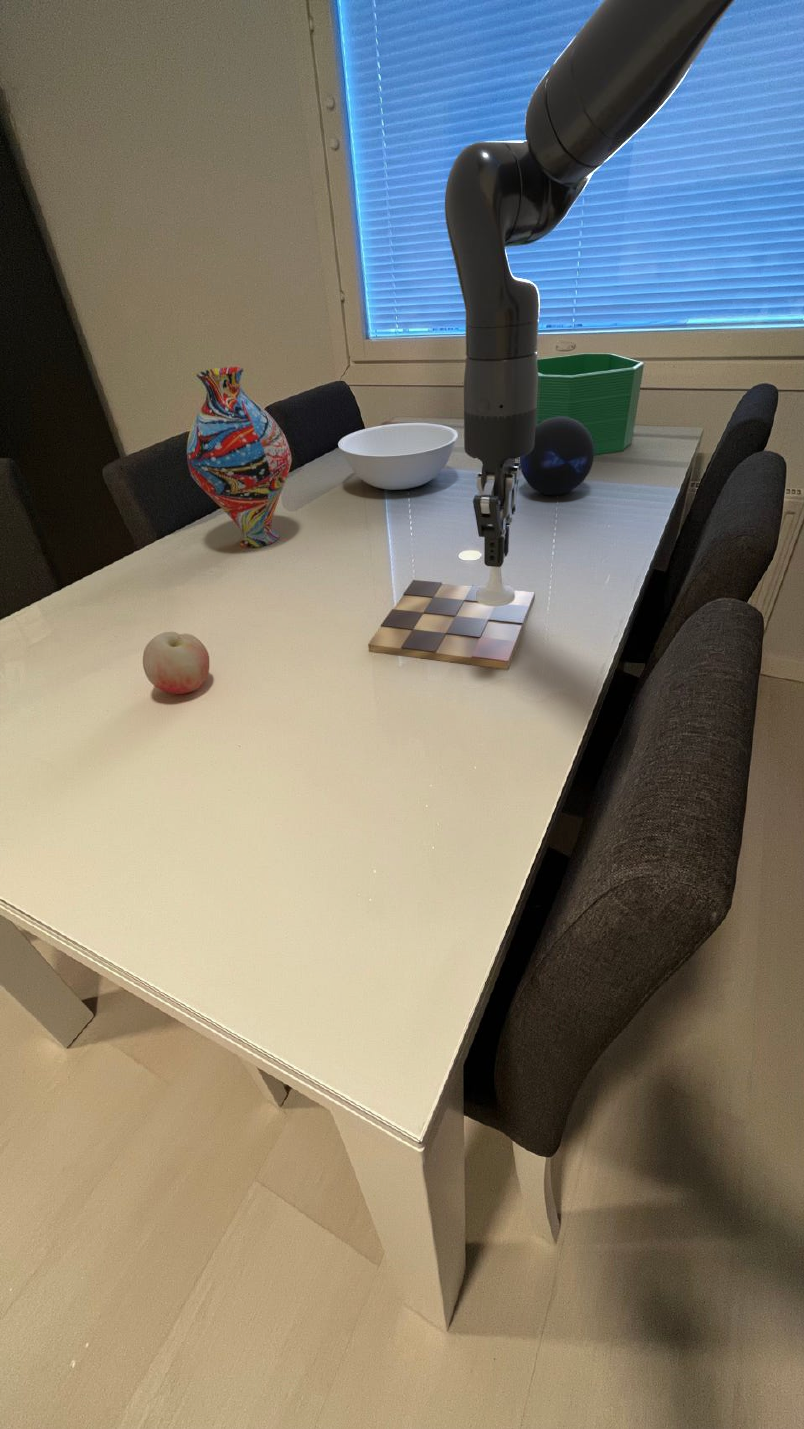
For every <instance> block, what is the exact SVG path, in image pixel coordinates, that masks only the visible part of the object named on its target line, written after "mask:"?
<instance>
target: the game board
mask: <svg viewBox="0 0 804 1429" xmlns="http://www.w3.org/2000/svg"><path fill="white" fill-rule="evenodd" d="M482 586H483V585H474V584H473V585H460V584H450V583H449V584H448V583H443V582H442V581H441V582H439V581H430V580H420V579H412V581H411V582H410V583H409V585H408V586H407V588H406V589H405V590H404V592H403V593H402V597H400V599H399V600H398V602H397V603H396V605H395V606H394V607H393V608H392V609H391V610H390V611H389V613H388V614H387V615H386V617H385V619H384V620H383V621H382V622H381V624H380V627H379V628H378V630H377V631H376V633H374V635H373V637H372V638H371V640H369V642H368V644H367V647H368V652H372V653H380V654H388V655H394V656H395V655H396V656H402V657H410V658H416V659H417V658H418V659H425V660H432V661H433V660H434V661H439V662H440V661H441V662H448V663H454V664H462V665H463V664H464V665H470V666H471V665H472V666H477V667H485V668H493V669H501V670H509V668H510V665H511V662H512V661H513V657H514V655H515V653H516V649H517V646H518V644H519V641H520V639H521V636H522V634H523V630H524V629H525V626H526V623H527V620H528V617H529V615H530V612H531V610H532V606H533V604H534V602H535V598H536V597H535V596H536V592H535V591H527V590H526V591H525V590H515V589H513V590H514V595H515V599H514V600H513V601H512V602H511V603H509V604H507V605H504V606H486V605H483V604H481V603H479V602H478V601H477V600H476V592H477V590H478V589H479V588H480V587H482Z"/></svg>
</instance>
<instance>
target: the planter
mask: <svg viewBox="0 0 804 1429" xmlns="http://www.w3.org/2000/svg"><path fill="white" fill-rule="evenodd" d="M537 367H538V391H537V409H536V425H538V424H539V423H541V422H542V421H544V420H546V419H549V418H552V417H569V418H572V419H574V420H577V421H578V422H580V423H581V424H582V425H583V426H584V427H585V428H586V429H587V430H588V432H589V433H590V435H591V437H592V440H593V444H594V456H599V455H606V454H611V453H613V454H614V453H619V452H623V451H624V450H626V448H628V447H629V446H630V445H631V444H632V443H633V437H634V430H635V428H636V427H635V425H636V420H637V419H636V418H637V412H638V408H639V407H638V406H639V401H640V395H641V393H640V392H641V390H642V389H641V385H642V381H643V380H642V379H643V375H644V368H645V363H644V362H643V361H639V360H635V359H632V358H628V357H624V356H621V355H618V354H614V353H602V352H601V353H598V352H597V353H596V352H595V353H594V352H591V353H590V352H584V353H576V354H575V353H574V354H569V355H568V354H567V355H560V356H559V355H558V356H552V357H544V358H537Z"/></svg>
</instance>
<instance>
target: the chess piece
mask: <svg viewBox="0 0 804 1429" xmlns="http://www.w3.org/2000/svg"><path fill="white" fill-rule="evenodd" d="M504 540H505V535H504ZM504 558H506V557H505V554H504ZM481 586H482V587H480V588H479V589H478V590H477V592H476V600H477V601H478V602H479V603H481V604H483V605H486V606H504V605H507V604H509V603H511V602H512V601H513V600H514V599H515V595H514V590H515V589H514V588H512V587H511V586H509V585H508V584H505V583H504V582H503V578H502V570H501V567H492V566H490V573H489V580H488V582H487V583H486V584H484V585H481Z"/></svg>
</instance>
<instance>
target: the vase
mask: <svg viewBox="0 0 804 1429" xmlns="http://www.w3.org/2000/svg"><path fill="white" fill-rule="evenodd" d="M243 372H244V368H243V367H240V366H225V367H217V368H210V369H206V370H202V371H199V372H197V373H196V374H195V375H196V377H197V378H198V379H199V380H200V381H201V383H202V384H203V385H204V387H205V392H206V395H205V396H206V397H205V401H204V402H203V404H202V406H201V408H200V409H199V411H198V412H197V413H196V416H195V417H194V420H193V422H192V424H191V427H190V429H189V434H188V437H187V443H186V460H187V466H188V470H189V472H190V476H191V478H192V479H193V480H194V481H195V482H196V484H197V485H198V486H199V487H200V489H201V490H203V491H204V492H205V494H207V495H208V496H209V497H210V498H211V499H212V500H213V501H214V502H215V503H216V504H217V505H218V506H219V508H221V509H222V510H223V512H225V514H226V515H228V516H229V518H230V519H231V520H233V522H234V523H235V525H237V527H238V529H239V530H240V532H241V536H240V537H239V538H238V540H237V544H238V545H239V546H240V547H243V548H260V547H265V546H268V545H270V544H274V542H276V541H278V540H279V538H280V534H279V532H277V531H275V530H273V528H272V524H273V516H274V514H275V511H276V509H277V506H278V502H279V500H280V497H281V494H282V492H283V490H284V486H285V484H286V481H287V478H288V475H289V473H290V469H291V465H292V453H291V449H290V445H289V443H288V442H289V441H288V440H287V438H286V435H285V433H284V432H283V430H282V429H281V427H280V426H279V424H278V422H277V421H276V420H275V419H274V418H273V416H272V415H271V414H270V413H269V412H268V411H267V410H265V409H264V408H263V407H262V406H261V405H260V404H259V403H257V402H256V401H254V400H252V398H250V397H249V396H248V395H247V394H246V393H245V392H244V390H243V388H242V384H241V379H242V374H243Z"/></svg>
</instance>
